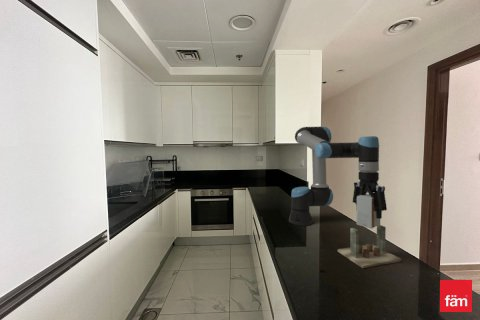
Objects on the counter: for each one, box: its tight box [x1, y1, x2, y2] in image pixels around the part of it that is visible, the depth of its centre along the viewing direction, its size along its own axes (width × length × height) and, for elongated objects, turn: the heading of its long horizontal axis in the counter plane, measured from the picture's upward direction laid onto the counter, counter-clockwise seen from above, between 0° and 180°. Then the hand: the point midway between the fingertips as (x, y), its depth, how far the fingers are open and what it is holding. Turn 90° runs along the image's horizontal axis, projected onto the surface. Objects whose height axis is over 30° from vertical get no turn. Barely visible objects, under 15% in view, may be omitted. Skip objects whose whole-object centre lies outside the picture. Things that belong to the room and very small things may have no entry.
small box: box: [356, 193, 379, 229], centre depth 86 cm, size 8×6×13 cm
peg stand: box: [337, 224, 402, 269], centre depth 87 cm, size 14×20×13 cm
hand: (368, 222), depth 87 cm, fingers closed on small box, 8 cm apart
